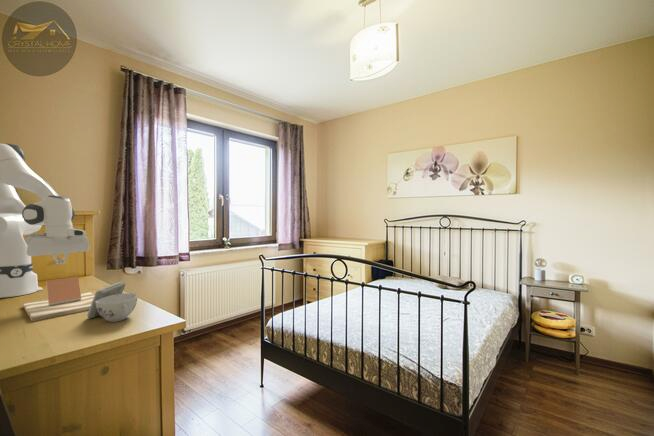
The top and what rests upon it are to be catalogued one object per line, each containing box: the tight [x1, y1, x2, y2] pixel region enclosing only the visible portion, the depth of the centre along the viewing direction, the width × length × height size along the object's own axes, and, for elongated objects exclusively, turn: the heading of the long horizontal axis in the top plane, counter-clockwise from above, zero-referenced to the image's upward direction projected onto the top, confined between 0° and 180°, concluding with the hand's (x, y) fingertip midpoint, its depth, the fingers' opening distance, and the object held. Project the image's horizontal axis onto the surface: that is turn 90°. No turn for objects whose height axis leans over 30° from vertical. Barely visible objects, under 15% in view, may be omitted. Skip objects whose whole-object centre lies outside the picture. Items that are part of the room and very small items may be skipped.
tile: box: [45, 276, 82, 306], centre depth 121 cm, size 11×10×1 cm
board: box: [22, 291, 95, 323], centre depth 120 cm, size 26×22×2 cm
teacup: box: [95, 292, 139, 323], centre depth 105 cm, size 15×12×8 cm
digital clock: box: [86, 281, 126, 319], centre depth 113 cm, size 16×9×11 cm, turn 175°
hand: (60, 263), depth 126 cm, fingers closed
